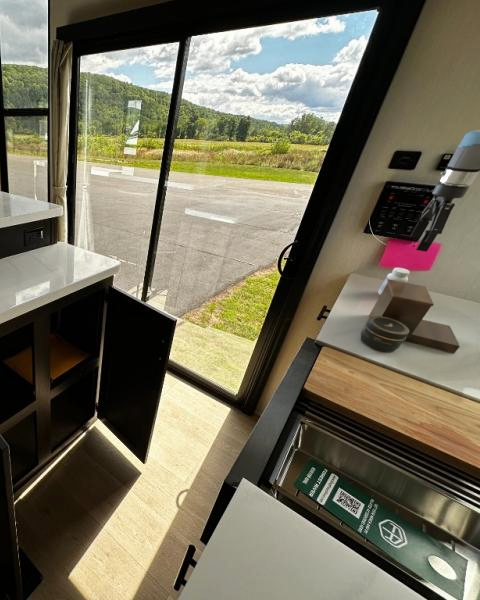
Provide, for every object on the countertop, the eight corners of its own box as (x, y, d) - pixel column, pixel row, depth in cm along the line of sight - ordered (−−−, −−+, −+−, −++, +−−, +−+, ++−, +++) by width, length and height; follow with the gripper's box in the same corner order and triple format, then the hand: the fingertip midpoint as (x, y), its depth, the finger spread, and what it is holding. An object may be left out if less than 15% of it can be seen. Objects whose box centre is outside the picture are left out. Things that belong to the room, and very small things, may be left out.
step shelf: (444, 332, 106) (472, 295, 98) (454, 353, 98) (486, 315, 90) (368, 314, 116) (388, 279, 108) (371, 332, 107) (393, 295, 99)
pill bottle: (390, 291, 128) (404, 266, 122) (401, 299, 123) (417, 274, 117) (373, 291, 129) (387, 266, 123) (384, 299, 124) (399, 273, 118)
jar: (400, 343, 102) (413, 325, 98) (393, 358, 97) (407, 339, 93) (362, 329, 109) (373, 311, 104) (354, 342, 103) (364, 324, 99)
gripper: (430, 175, 114) (399, 231, 126) (447, 190, 97) (409, 254, 109) (459, 177, 110) (425, 234, 122) (482, 194, 93) (439, 258, 105)
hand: (417, 243), depth 115 cm, fingers open, 13 cm apart
